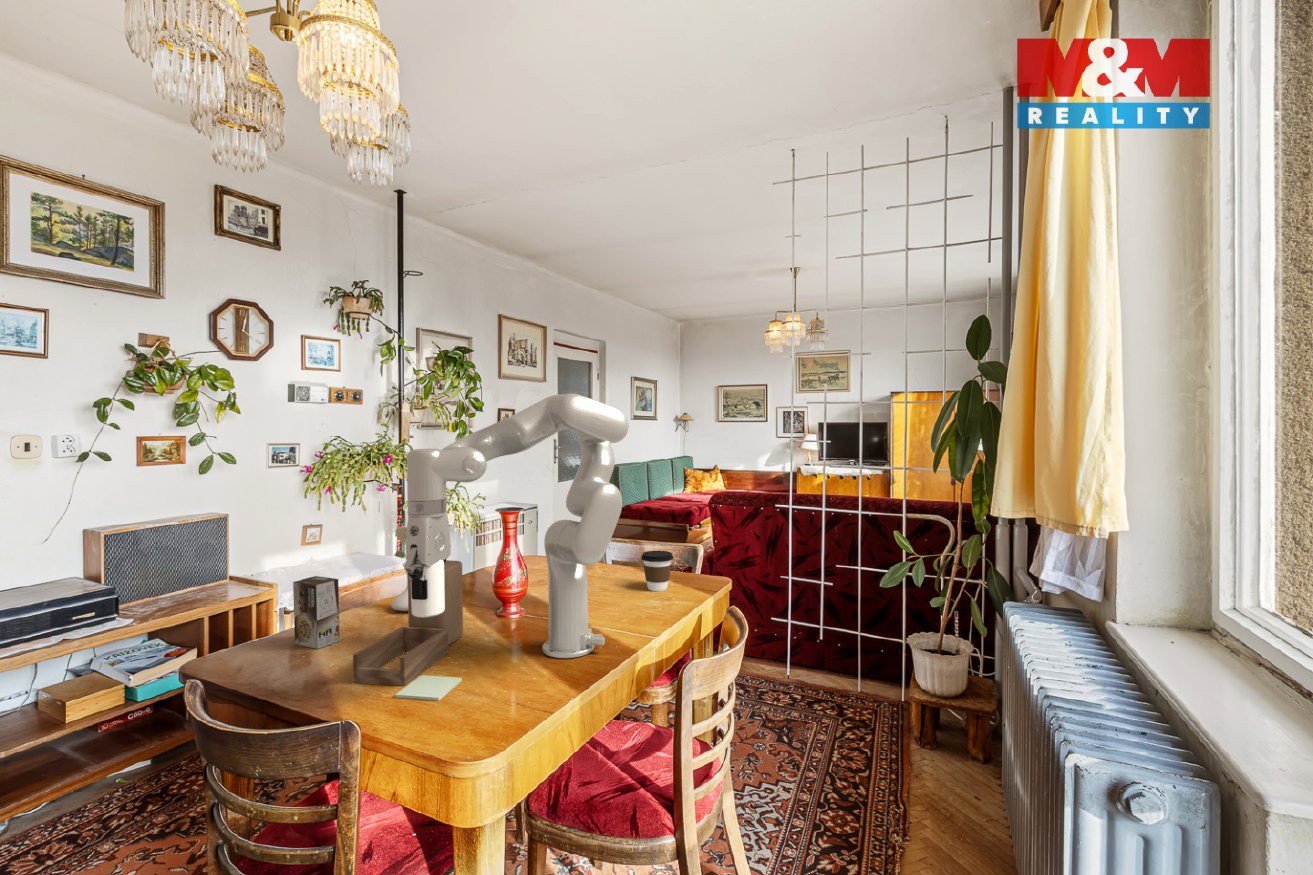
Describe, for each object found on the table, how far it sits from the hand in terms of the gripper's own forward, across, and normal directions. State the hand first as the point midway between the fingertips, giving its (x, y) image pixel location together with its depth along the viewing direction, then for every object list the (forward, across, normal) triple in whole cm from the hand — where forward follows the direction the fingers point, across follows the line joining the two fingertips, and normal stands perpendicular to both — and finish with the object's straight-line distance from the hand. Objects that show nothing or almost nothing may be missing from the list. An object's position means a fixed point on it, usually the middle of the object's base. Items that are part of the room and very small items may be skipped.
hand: (428, 593), depth 123 cm
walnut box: (+20, +10, +12) cm, 25 cm away
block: (+20, +26, +13) cm, 35 cm away
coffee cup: (+20, +82, -35) cm, 91 cm away
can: (+4, 0, 0) cm, 4 cm away
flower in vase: (+20, +50, +36) cm, 65 cm away
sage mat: (+20, 0, 0) cm, 20 cm away
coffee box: (+20, +20, +43) cm, 52 cm away
